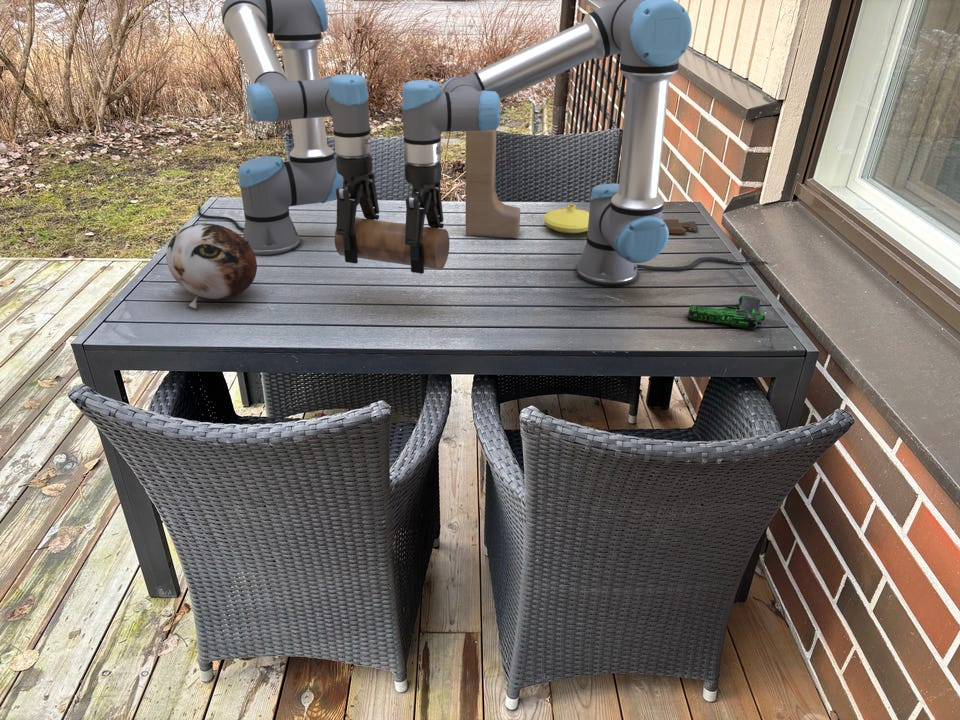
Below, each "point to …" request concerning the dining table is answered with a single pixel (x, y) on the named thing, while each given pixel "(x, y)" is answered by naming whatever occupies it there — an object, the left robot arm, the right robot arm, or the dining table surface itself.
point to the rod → (396, 243)
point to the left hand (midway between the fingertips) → (361, 254)
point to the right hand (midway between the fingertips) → (425, 264)
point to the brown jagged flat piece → (679, 226)
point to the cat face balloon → (211, 261)
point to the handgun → (731, 314)
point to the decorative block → (486, 190)
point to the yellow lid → (567, 220)
